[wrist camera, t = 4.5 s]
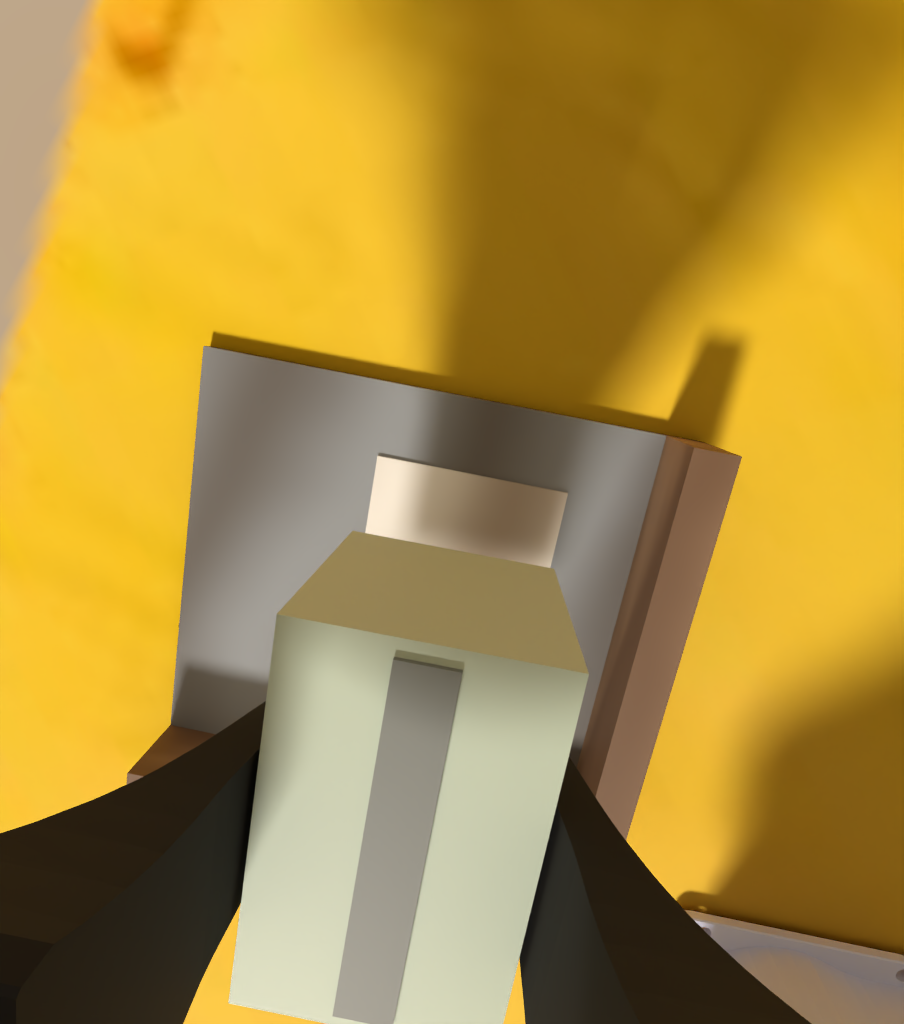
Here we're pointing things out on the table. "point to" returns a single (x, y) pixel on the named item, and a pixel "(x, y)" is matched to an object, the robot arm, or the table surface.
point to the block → (405, 785)
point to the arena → (440, 535)
